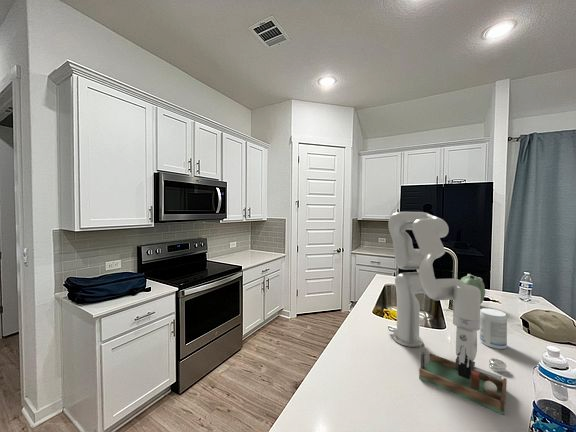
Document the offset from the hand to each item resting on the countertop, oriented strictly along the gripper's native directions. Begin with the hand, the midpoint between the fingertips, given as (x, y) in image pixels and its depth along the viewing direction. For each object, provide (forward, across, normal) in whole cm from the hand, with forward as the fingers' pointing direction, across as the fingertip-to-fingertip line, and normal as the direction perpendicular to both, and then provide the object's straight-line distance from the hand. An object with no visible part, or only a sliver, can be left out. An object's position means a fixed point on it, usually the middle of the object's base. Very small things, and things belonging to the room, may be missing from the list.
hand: (465, 373), depth 85 cm
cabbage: (+4, +90, +10) cm, 91 cm away
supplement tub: (+4, +42, -4) cm, 42 cm away
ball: (+1, 0, -7) cm, 7 cm away
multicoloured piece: (+3, 0, -4) cm, 5 cm away
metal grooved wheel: (+5, +20, -8) cm, 22 cm away
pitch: (+4, 0, +1) cm, 4 cm away
